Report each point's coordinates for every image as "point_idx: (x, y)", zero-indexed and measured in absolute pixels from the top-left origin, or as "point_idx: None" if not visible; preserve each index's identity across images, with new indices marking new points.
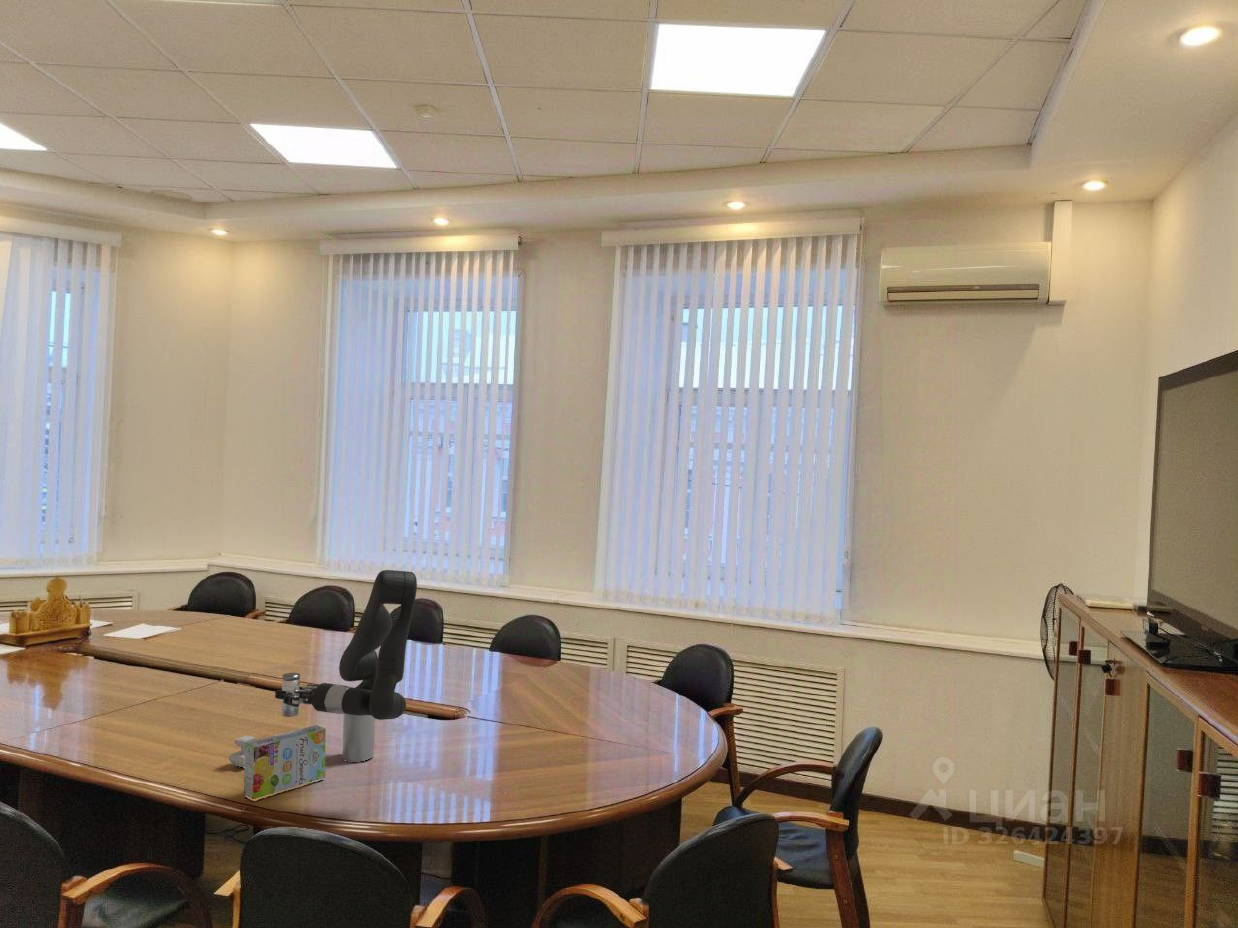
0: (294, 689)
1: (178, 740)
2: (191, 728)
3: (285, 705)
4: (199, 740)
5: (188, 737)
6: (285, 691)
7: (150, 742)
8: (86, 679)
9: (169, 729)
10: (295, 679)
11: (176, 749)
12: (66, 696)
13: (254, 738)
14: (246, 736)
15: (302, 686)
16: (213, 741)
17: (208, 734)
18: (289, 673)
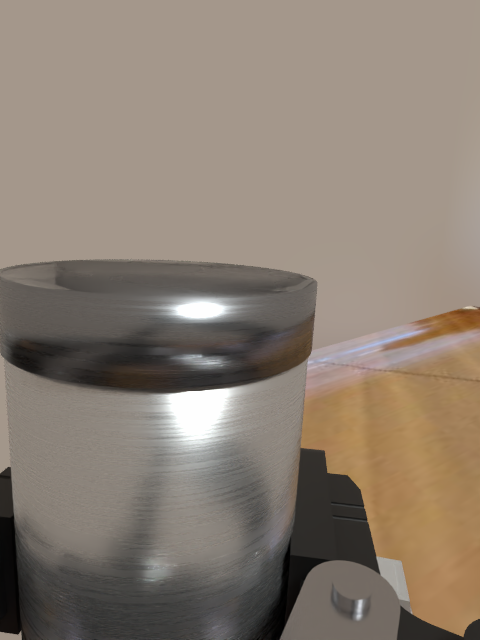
0: (35, 562)
1: (398, 458)
2: (460, 449)
3: None
4: (426, 482)
5: (423, 463)
6: (6, 496)
7: (361, 435)
8: (470, 339)
9: (427, 431)
10: (31, 362)
11: (359, 474)
12: (419, 345)
13: (401, 602)
14: (390, 568)
15: (335, 595)
16: (444, 503)
17: (465, 480)
18: (238, 270)
